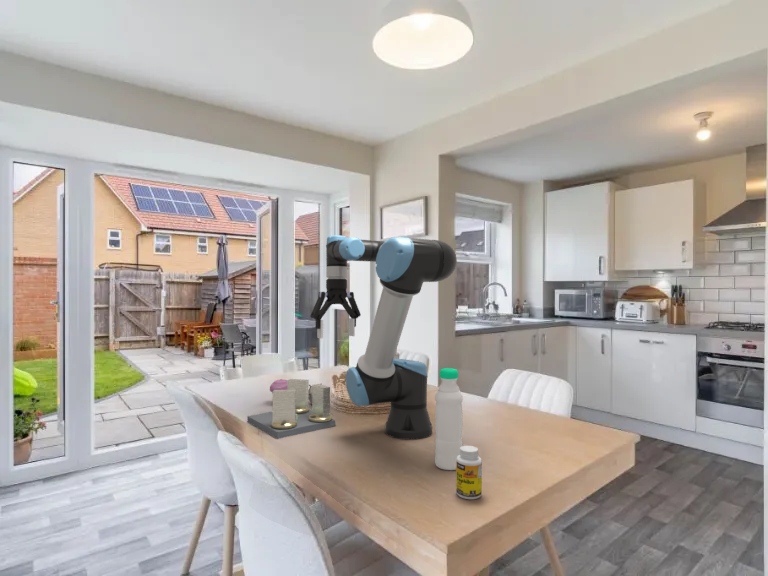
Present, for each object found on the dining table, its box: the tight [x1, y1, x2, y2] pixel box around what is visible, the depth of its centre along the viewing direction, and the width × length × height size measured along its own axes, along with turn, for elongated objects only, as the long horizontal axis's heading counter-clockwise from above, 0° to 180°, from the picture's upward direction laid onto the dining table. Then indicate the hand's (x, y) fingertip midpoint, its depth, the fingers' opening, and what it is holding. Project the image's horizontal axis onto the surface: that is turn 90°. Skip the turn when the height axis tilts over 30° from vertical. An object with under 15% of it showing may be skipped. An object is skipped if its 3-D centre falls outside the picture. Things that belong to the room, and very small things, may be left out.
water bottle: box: [434, 367, 464, 471], centre depth 114 cm, size 7×7×25 cm
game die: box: [308, 384, 312, 407], centre depth 178 cm, size 9×8×10 cm
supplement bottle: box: [455, 445, 483, 500], centre depth 98 cm, size 6×6×10 cm
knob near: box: [271, 390, 297, 429], centre depth 142 cm, size 8×8×11 cm
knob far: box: [287, 378, 310, 414], centre depth 159 cm, size 8×8×11 cm
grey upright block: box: [309, 383, 334, 422], centre depth 149 cm, size 8×8×11 cm
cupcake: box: [269, 379, 289, 394], centre depth 178 cm, size 9×9×10 cm
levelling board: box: [246, 409, 336, 440], centre depth 151 cm, size 23×21×4 cm
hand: (336, 337), depth 160 cm, fingers open, 13 cm apart
